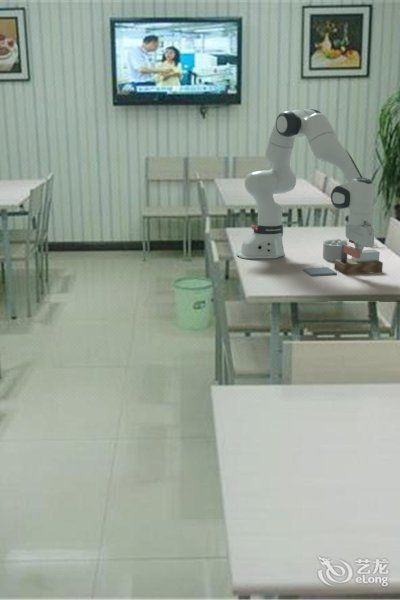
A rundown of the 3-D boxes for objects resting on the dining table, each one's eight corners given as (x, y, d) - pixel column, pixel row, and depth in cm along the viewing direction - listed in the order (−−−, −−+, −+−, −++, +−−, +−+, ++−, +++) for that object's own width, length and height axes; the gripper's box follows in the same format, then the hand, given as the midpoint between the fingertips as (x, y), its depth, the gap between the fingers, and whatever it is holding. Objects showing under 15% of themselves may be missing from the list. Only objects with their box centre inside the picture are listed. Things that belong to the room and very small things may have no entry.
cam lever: (339, 260, 288) (340, 243, 286) (345, 260, 288) (346, 243, 286) (355, 268, 274) (355, 250, 272) (360, 268, 274) (361, 250, 272)
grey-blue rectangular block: (356, 262, 285) (356, 253, 284) (351, 260, 290) (352, 250, 289) (379, 261, 287) (379, 251, 286) (374, 258, 292) (374, 249, 291)
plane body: (343, 274, 283) (343, 264, 282) (334, 268, 292) (334, 259, 291) (382, 272, 286) (382, 262, 285) (372, 266, 295) (372, 257, 294)
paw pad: (343, 255, 318) (344, 237, 316) (349, 261, 306) (350, 242, 303) (321, 256, 318) (321, 237, 316) (326, 262, 306) (327, 242, 303)
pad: (311, 276, 280) (311, 274, 280) (302, 270, 290) (302, 268, 290) (336, 274, 282) (336, 272, 282) (327, 268, 292) (327, 267, 292)
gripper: (379, 223, 263) (377, 259, 266) (357, 215, 282) (356, 248, 286) (364, 224, 262) (361, 259, 265) (343, 215, 281) (341, 249, 285)
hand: (358, 254), depth 276 cm, fingers closed, pressing on cam lever
